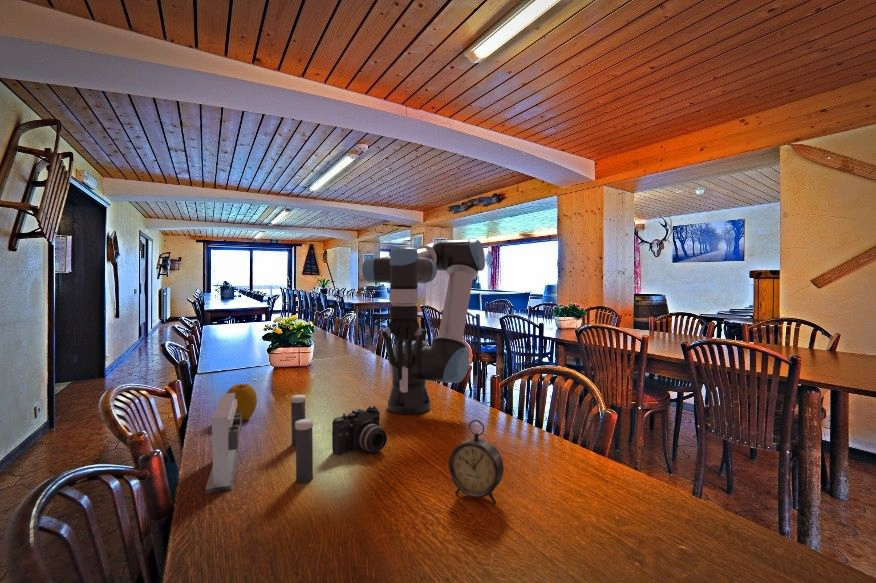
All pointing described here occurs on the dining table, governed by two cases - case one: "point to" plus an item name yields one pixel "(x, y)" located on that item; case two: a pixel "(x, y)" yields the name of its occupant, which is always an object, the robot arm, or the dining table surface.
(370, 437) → the camera
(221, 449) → the breaker panel
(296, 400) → the post
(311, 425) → the post
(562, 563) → the dining table surface
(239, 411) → the yellow-brown oval body
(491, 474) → the alarm clock
